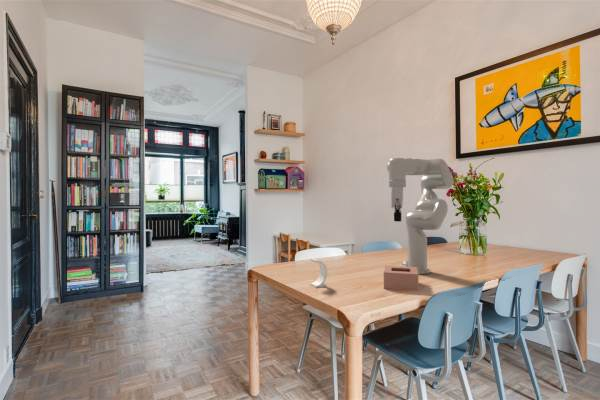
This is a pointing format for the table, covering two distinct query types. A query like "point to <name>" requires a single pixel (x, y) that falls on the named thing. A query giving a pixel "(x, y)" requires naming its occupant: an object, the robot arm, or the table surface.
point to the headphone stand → (322, 276)
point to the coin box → (401, 278)
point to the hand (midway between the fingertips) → (397, 220)
